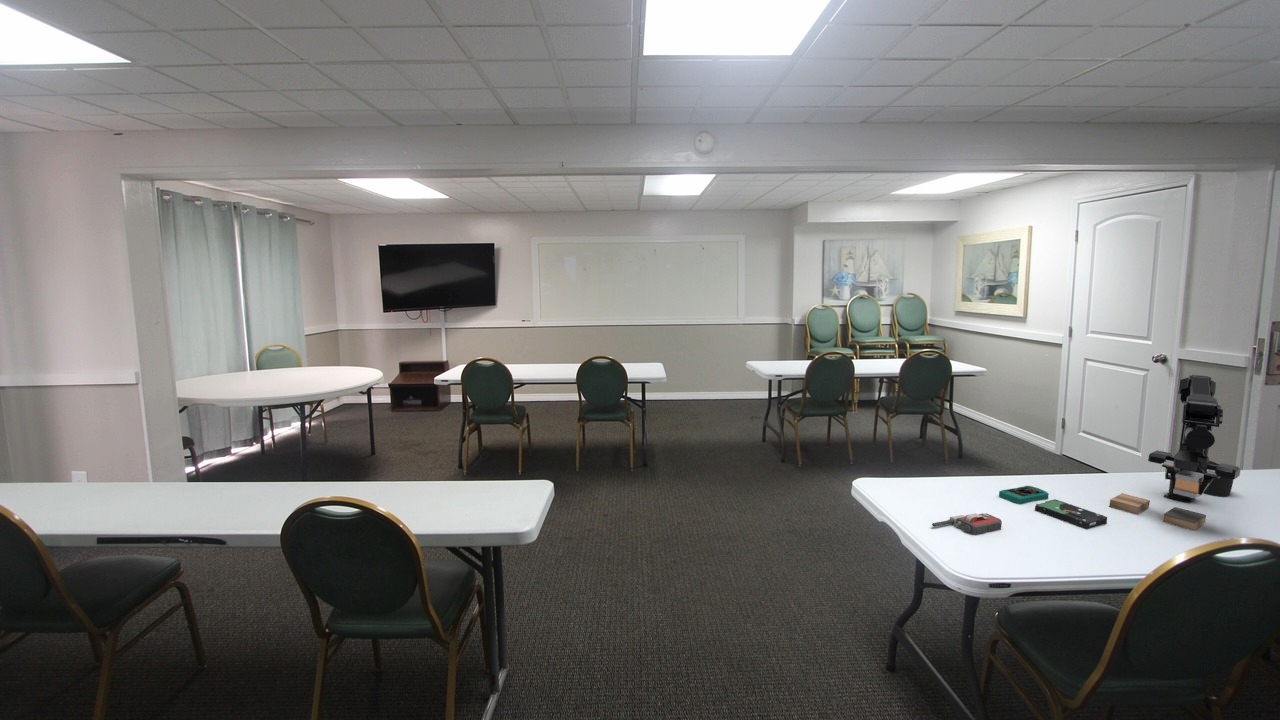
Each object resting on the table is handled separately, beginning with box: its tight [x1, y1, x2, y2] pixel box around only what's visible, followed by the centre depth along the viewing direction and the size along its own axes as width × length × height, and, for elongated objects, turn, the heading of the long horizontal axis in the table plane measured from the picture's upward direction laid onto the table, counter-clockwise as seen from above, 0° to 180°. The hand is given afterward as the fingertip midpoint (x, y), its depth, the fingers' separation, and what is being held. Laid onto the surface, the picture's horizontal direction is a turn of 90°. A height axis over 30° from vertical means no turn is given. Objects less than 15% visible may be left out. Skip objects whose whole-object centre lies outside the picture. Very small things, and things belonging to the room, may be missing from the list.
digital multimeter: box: [998, 485, 1050, 505], centre depth 186 cm, size 7×15×3 cm, turn 111°
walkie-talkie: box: [931, 512, 1002, 536], centre depth 163 cm, size 9×4×20 cm
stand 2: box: [1162, 506, 1207, 531], centre depth 167 cm, size 10×7×2 cm
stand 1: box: [1108, 493, 1151, 515], centre depth 178 cm, size 10×7×2 cm
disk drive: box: [1034, 499, 1108, 530], centre depth 171 cm, size 10×3×15 cm
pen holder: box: [1203, 460, 1235, 498], centre depth 191 cm, size 9×9×10 cm
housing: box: [1173, 470, 1204, 500], centre depth 166 cm, size 7×5×6 cm
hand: (1188, 491), depth 166 cm, fingers closed on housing, 5 cm apart
